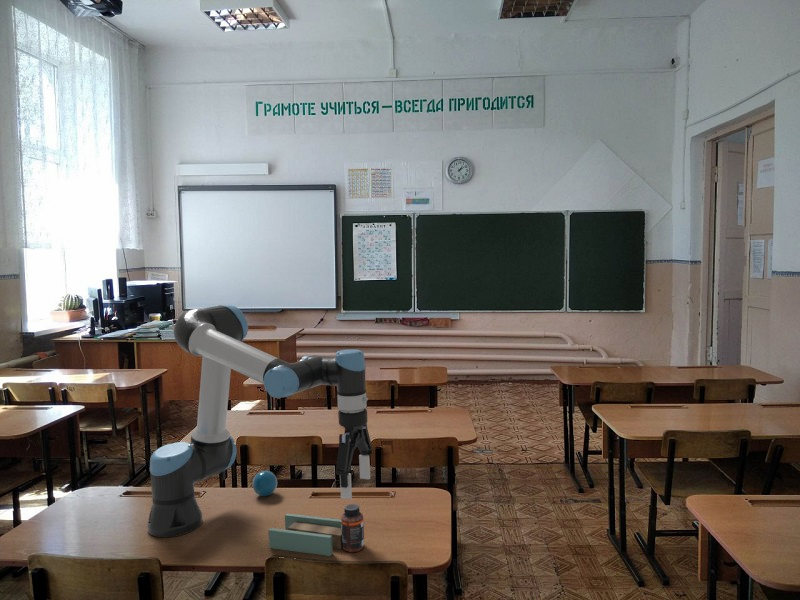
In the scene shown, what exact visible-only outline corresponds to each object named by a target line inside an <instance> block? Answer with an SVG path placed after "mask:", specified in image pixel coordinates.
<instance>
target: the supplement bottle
mask: <svg viewBox="0 0 800 600" xmlns="http://www.w3.org/2000/svg"><path fill="white" fill-rule="evenodd" d="M343 510H344V511H343V514H342V515H341V518H340V520H341V526H342V546H343V547H342V549H343V550H344V551H345V552H349V553H357V552H359V551H361V550H363V549H364V547H365V530H364V528H365V525H364V523H365V522H364V515H363V513H362V512H360V505H358V504H356V503H350V504H347V505H345V506H344V509H343Z"/></svg>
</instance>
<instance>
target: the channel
mask: <svg viewBox="0 0 800 600" xmlns="http://www.w3.org/2000/svg"><path fill="white" fill-rule="evenodd" d="M295 521H296V522H303V523H310V524H317V525H324V526H331V527H337V528H342V526H341V518H340V519H338V518H329V517H321V516H311V515H303V514H294V513H286V514H285V515H284V527H285V529H281V528H273V527H270V528H269V529H268V544H269V545H268V548H269V549H274V550H283V551H289V552H298V553H305V554H311V555H312V554H313V555H319V556H327V557H331V556H332V555H333V554H334V553H333V548H332V536H331V535H323V534H315V533H307V532H299V531H291V530H288V527H289V526H290V525H292V524H293V523H294V522H295Z"/></svg>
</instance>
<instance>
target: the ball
mask: <svg viewBox="0 0 800 600" xmlns="http://www.w3.org/2000/svg"><path fill="white" fill-rule="evenodd" d="M277 487H278V478H277V477H276V475H275V474H274V472H272V471H269V470H262V471H259V472H258V473H256V474H255V476H254V477H253V479H252V489H253V490H254V492H255V493H256V494H257V495H258V496H261V497H268V496H270V495H272V494H274V492H275V491H276V489H277Z"/></svg>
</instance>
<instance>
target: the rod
mask: <svg viewBox="0 0 800 600" xmlns="http://www.w3.org/2000/svg"><path fill="white" fill-rule="evenodd" d="M288 530H291V531H299V532H307V533H315V534H323V535H331V536H332V549H338V550H341V549H343V546H342V528H337V527H331V526H324V525H317V524H310V523H303V522H296V521H295V522H294V523H293V524H292V525H290V526H289V527H288Z"/></svg>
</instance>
